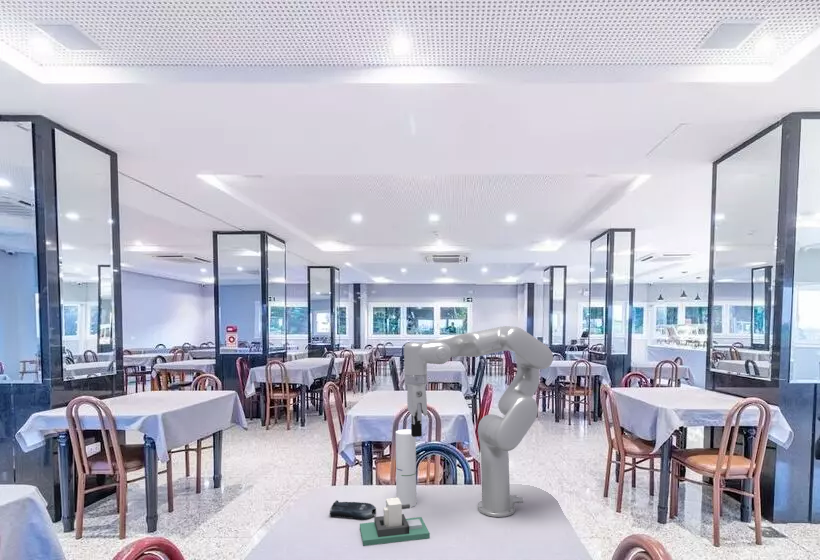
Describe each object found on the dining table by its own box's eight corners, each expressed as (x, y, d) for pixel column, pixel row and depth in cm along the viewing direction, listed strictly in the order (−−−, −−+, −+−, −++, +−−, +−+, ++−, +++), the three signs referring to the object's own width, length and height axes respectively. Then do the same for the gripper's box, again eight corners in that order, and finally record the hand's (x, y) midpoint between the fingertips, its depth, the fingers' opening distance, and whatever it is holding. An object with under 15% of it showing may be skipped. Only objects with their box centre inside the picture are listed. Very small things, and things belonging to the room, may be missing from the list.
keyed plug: (407, 522, 143) (407, 496, 143) (411, 529, 138) (411, 502, 138) (383, 525, 141) (382, 499, 141) (385, 533, 136) (385, 505, 137)
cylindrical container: (404, 497, 166) (403, 428, 167) (420, 502, 161) (419, 431, 163) (392, 504, 160) (391, 432, 162) (408, 509, 156) (407, 435, 157)
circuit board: (421, 521, 146) (421, 510, 147) (429, 538, 136) (429, 526, 136) (359, 528, 142) (359, 517, 143) (363, 546, 132) (363, 533, 132)
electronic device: (329, 524, 149) (372, 520, 147) (327, 506, 150) (370, 502, 148) (337, 516, 158) (379, 511, 156) (336, 499, 159) (377, 494, 157)
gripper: (432, 382, 144) (433, 441, 143) (421, 376, 158) (422, 429, 157) (409, 383, 142) (410, 443, 141) (400, 377, 157) (401, 431, 156)
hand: (416, 435), depth 149 cm, fingers closed
